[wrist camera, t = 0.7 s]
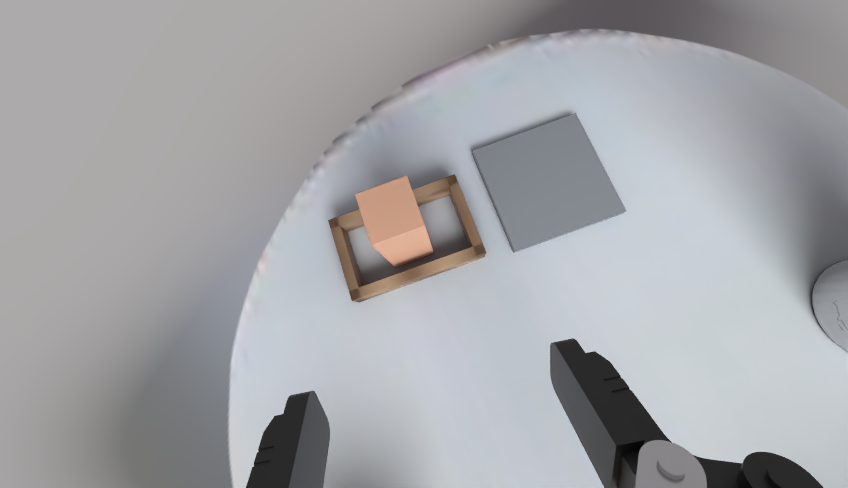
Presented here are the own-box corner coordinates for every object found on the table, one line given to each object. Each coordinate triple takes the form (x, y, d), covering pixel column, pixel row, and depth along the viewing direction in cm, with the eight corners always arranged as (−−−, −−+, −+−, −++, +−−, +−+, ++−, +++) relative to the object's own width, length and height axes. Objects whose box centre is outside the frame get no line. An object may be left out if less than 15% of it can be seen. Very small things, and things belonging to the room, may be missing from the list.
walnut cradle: (455, 183, 40) (454, 174, 37) (484, 257, 37) (486, 252, 35) (336, 226, 40) (328, 220, 37) (358, 302, 38) (351, 300, 35)
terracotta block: (420, 216, 39) (406, 175, 28) (434, 253, 38) (425, 225, 27) (382, 230, 39) (354, 194, 28) (395, 267, 38) (371, 245, 27)
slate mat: (573, 117, 40) (575, 113, 39) (622, 213, 37) (626, 211, 36) (472, 154, 40) (472, 150, 39) (513, 252, 37) (514, 251, 36)
